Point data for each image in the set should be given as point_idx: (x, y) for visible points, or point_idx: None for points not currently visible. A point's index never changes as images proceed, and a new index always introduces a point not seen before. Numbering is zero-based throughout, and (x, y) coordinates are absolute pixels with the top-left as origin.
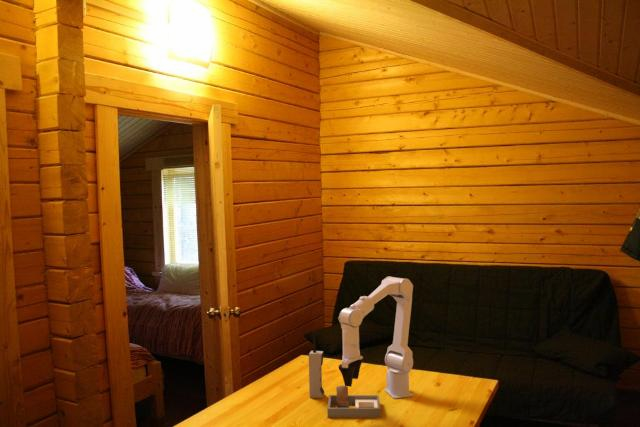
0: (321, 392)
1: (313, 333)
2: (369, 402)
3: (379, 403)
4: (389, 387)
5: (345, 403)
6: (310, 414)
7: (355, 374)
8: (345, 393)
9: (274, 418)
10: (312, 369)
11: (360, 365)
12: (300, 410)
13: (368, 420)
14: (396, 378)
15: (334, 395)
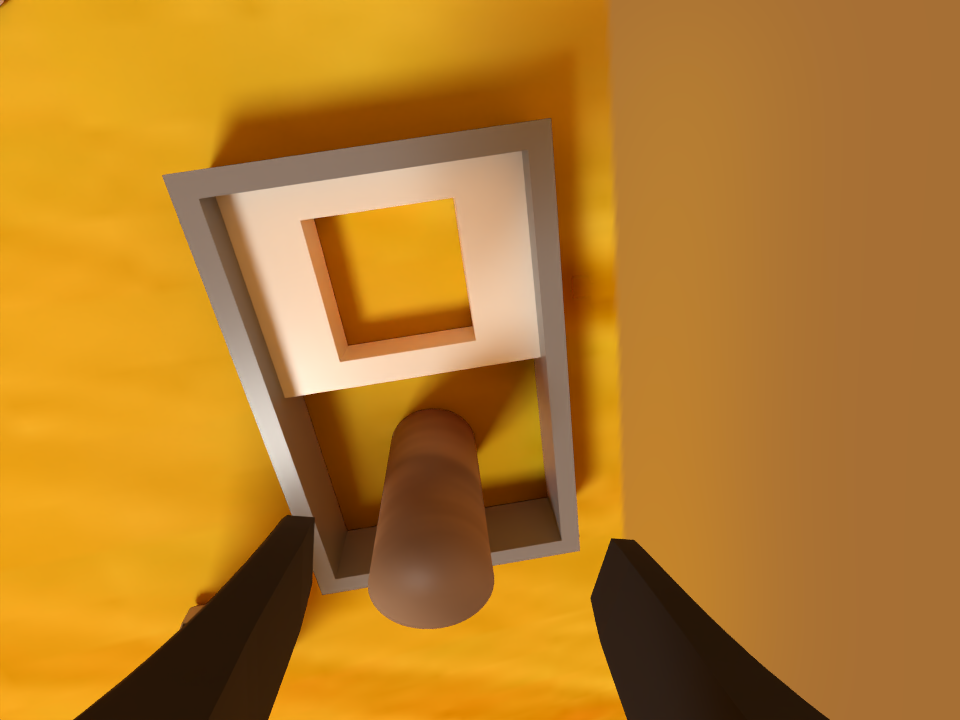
0: None
1: None
2: (313, 264)
3: (409, 144)
4: None
5: (469, 458)
6: (529, 595)
7: (291, 597)
8: (472, 516)
9: (594, 711)
10: None
11: (131, 713)
12: (481, 649)
13: (596, 231)
14: None
15: (318, 561)
